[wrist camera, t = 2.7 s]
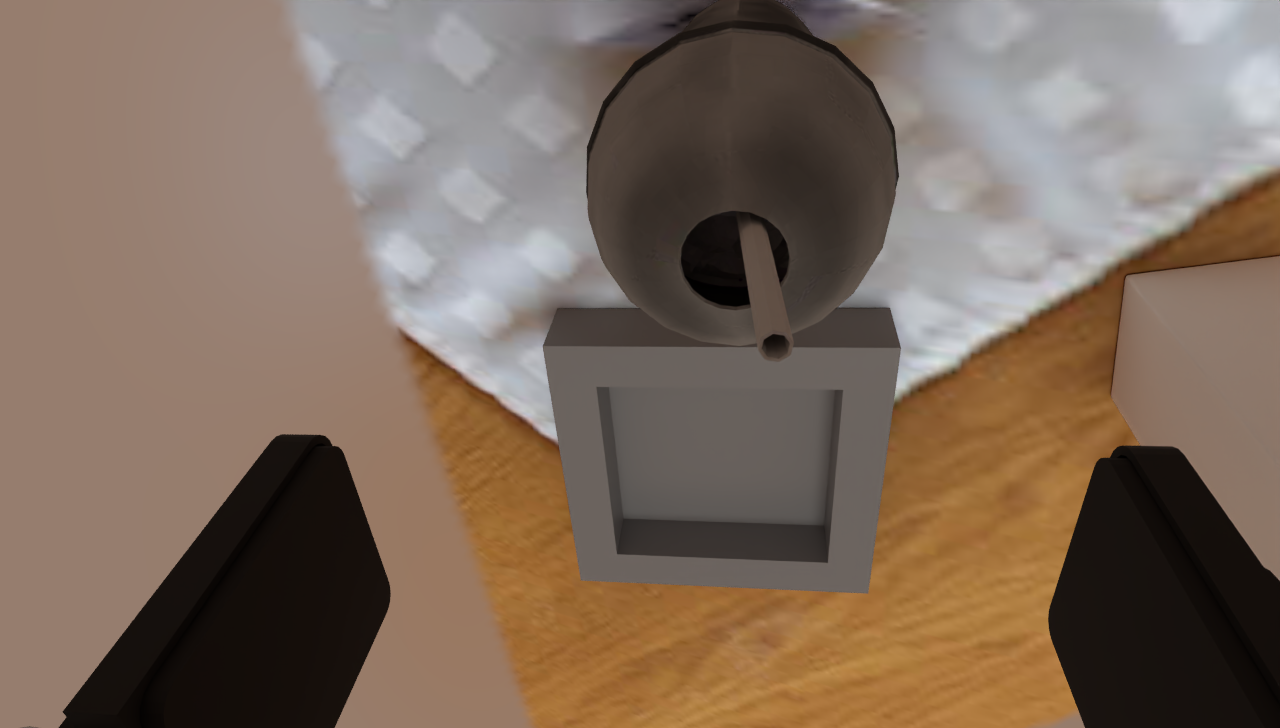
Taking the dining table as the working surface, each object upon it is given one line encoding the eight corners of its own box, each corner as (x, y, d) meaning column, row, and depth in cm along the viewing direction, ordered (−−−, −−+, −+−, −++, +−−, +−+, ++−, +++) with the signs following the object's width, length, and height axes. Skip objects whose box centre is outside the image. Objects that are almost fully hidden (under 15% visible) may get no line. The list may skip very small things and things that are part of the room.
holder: (557, 308, 35) (542, 346, 32) (889, 308, 33) (900, 347, 30) (591, 536, 43) (581, 580, 40) (861, 546, 41) (868, 593, 38)
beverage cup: (604, 96, 29) (415, 447, 13) (713, -102, 26) (638, 46, 9) (768, 197, 31) (784, 629, 14) (895, 26, 27) (1112, 351, 11)
